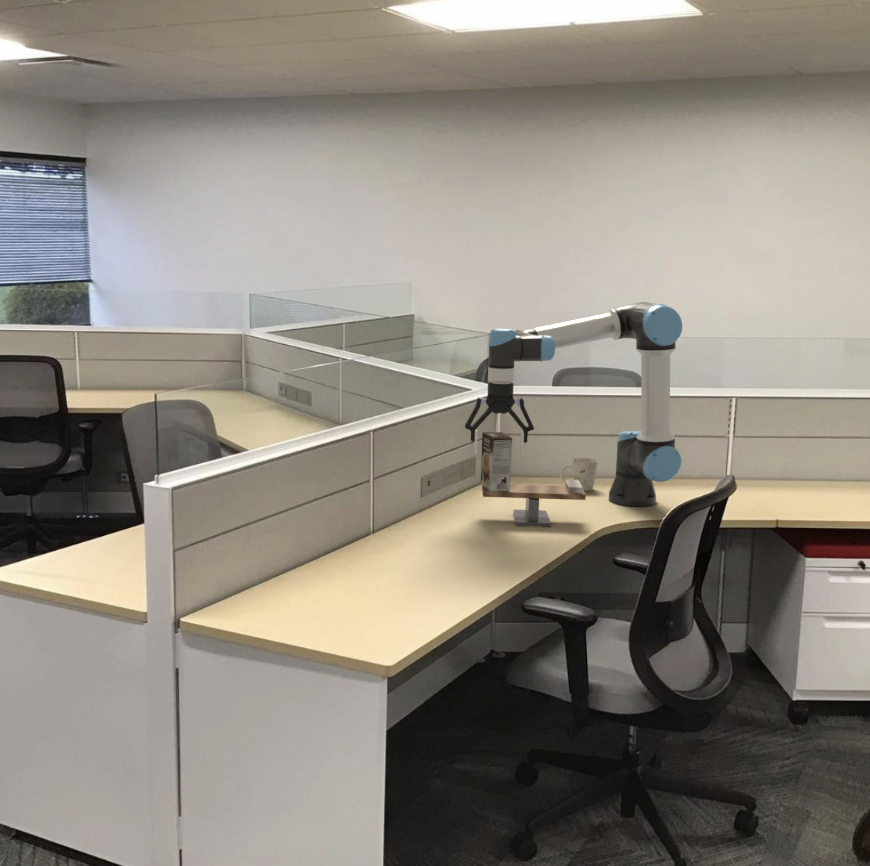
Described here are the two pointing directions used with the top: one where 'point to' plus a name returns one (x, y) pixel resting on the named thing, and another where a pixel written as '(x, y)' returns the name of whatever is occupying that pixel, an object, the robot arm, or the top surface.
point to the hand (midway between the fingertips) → (498, 453)
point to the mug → (582, 472)
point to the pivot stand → (531, 515)
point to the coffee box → (496, 461)
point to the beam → (541, 491)
